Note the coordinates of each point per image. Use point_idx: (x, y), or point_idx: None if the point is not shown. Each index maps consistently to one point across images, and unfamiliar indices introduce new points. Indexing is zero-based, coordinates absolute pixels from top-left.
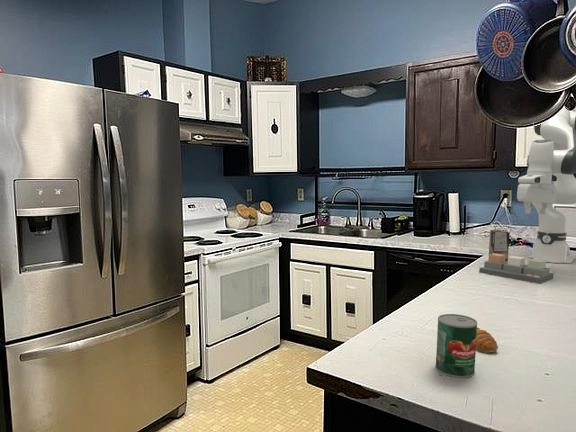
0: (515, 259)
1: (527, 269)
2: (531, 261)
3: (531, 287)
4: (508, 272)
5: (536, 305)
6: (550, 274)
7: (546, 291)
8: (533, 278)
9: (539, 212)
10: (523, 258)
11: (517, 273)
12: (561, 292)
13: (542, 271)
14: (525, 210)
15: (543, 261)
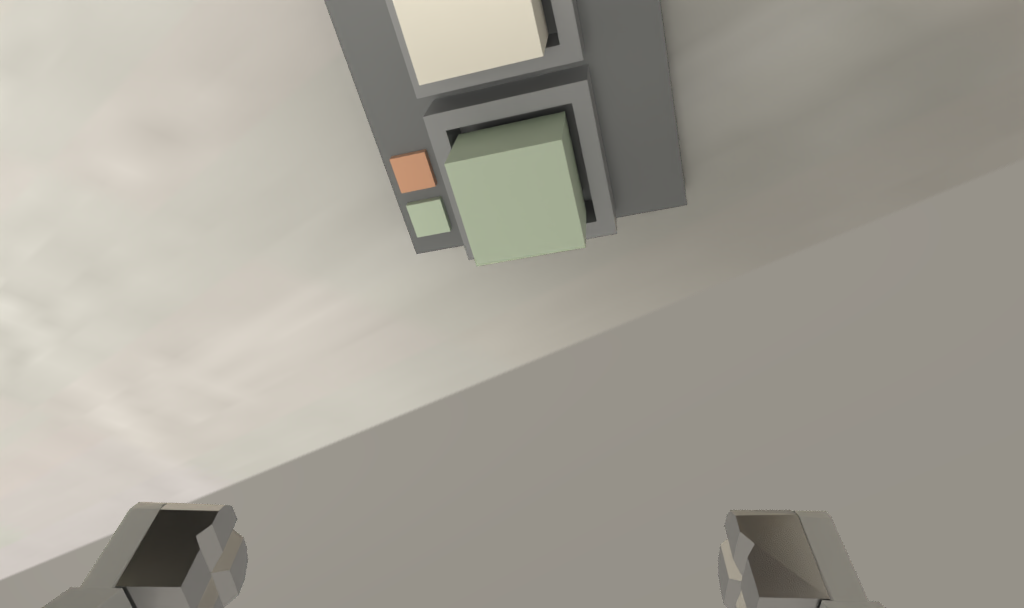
0: (407, 32)
1: (435, 144)
2: (454, 186)
3: (286, 263)
4: (348, 4)
5: (59, 435)
6: (623, 212)
7: (299, 345)
8: (404, 207)
9: (740, 528)
10: (505, 63)
11: (396, 68)
12: (363, 387)
13: (469, 252)
14: (110, 555)
15: (527, 255)
